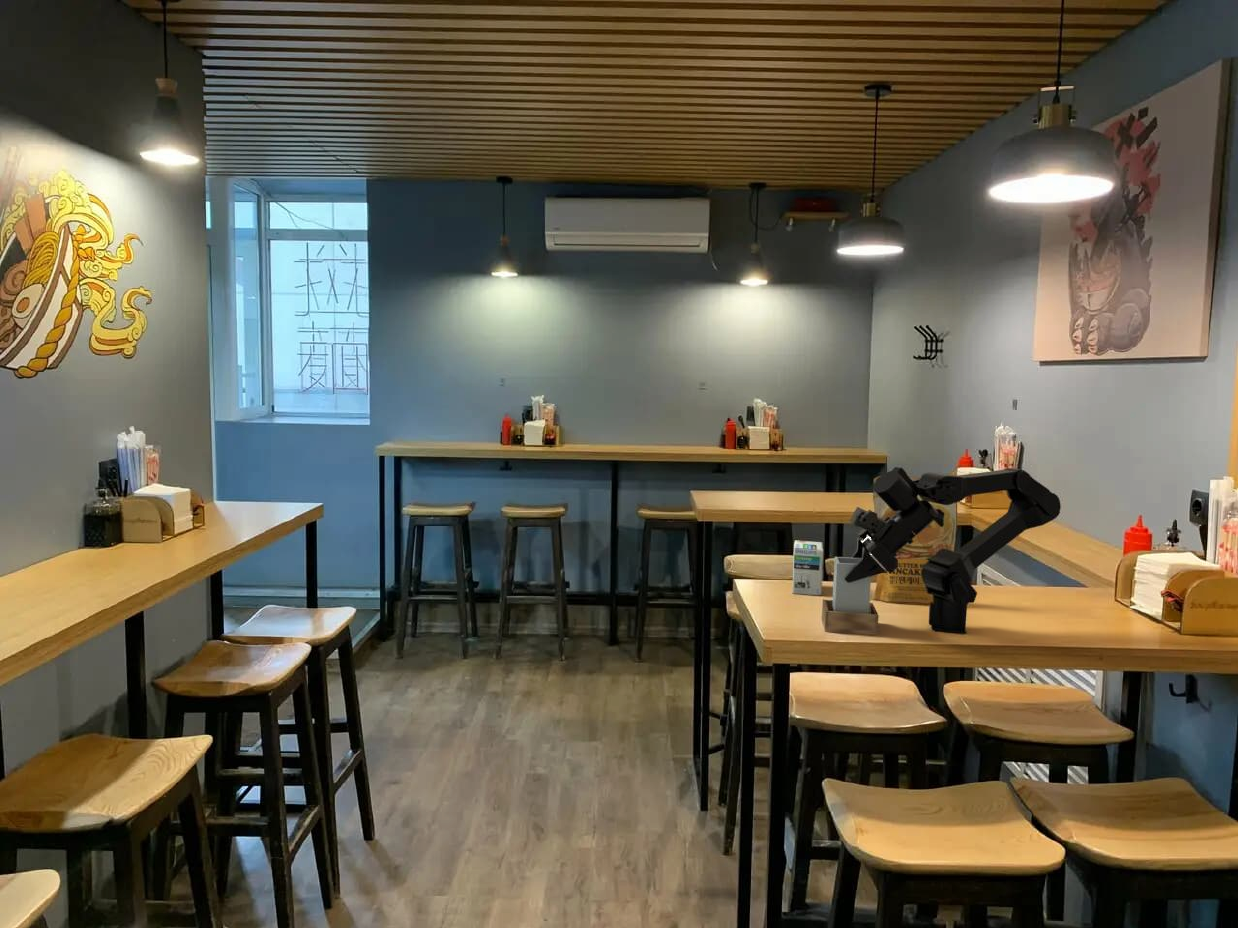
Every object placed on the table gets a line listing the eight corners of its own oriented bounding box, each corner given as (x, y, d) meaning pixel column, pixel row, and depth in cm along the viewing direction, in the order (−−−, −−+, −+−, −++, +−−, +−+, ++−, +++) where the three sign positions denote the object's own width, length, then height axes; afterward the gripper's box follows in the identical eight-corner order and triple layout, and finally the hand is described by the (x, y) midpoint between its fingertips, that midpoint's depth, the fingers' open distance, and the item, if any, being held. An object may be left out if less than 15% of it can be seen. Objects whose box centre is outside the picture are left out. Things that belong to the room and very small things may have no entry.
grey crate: (865, 607, 181) (867, 558, 180) (869, 615, 174) (871, 565, 173) (832, 605, 182) (834, 556, 181) (834, 613, 175) (837, 563, 174)
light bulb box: (821, 596, 203) (824, 549, 202) (791, 594, 205) (793, 547, 204) (820, 586, 214) (823, 541, 213) (792, 583, 215) (794, 539, 214)
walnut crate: (871, 621, 183) (872, 602, 182) (877, 635, 173) (878, 615, 172) (821, 618, 184) (822, 599, 184) (824, 631, 174) (825, 611, 174)
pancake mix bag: (863, 594, 206) (870, 473, 203) (949, 599, 204) (957, 477, 201) (868, 602, 199) (876, 477, 197) (957, 607, 197) (966, 480, 195)
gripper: (871, 488, 184) (814, 538, 187) (883, 501, 166) (819, 556, 169) (908, 528, 184) (850, 578, 187) (924, 545, 166) (860, 599, 168)
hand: (844, 577), depth 178 cm, fingers closed on grey crate, 6 cm apart
